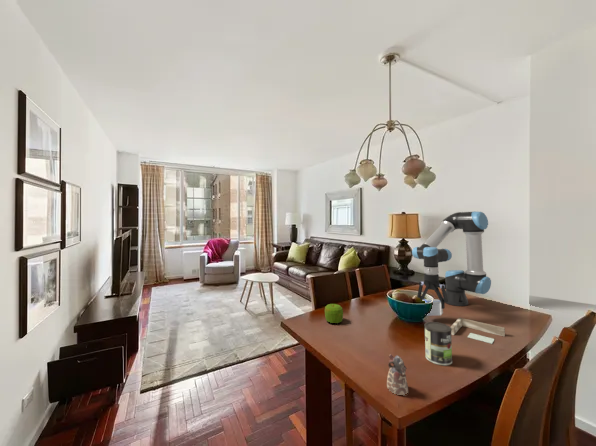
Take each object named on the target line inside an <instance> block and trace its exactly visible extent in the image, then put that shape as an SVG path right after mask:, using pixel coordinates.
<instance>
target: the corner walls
mask: <svg viewBox="0 0 596 446" xmlns="http://www.w3.org/2000/svg"><path fill="white" fill-rule="evenodd" d="M450 327H451V329H452V331H451V336H455V335H456V334H457V332H458V331H459V330H460V329H461V328H462V327H464V328H469V329H473V330H476V331H480V332H484V333H488V334H492V335H496V336H501V337H505V336H506V333H505V332H506V328H505V327H502V326H499V325H493V324H491V323H485V322H482V321H476V320H473V319H467V318H463V317H458V318H457V319H456V321H454V322H453V323H452V324H451V326H450Z"/></svg>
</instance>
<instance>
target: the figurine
mask: <svg viewBox="0 0 596 446" xmlns="http://www.w3.org/2000/svg"><path fill="white" fill-rule="evenodd" d="M388 357H389V360H388V363H387V366H388V369H389V370H388V373H387V378H386V388H387V389H389V390H388V391H389V392H390V391H391V392H392V393H394V394H397V395H403V396H406V395H405V394H407V393H408V394H409V385H408V382H407V381H408V380H407V375H406V371H407V366H406V365H405V363H404V360H403V359H402V357H401V356H399V355H395V356H393V355H392V354H391V353H390V354H388ZM392 364H393V365H392ZM391 392H390V393H391ZM392 393H391V394H392ZM394 394H393V395H394ZM408 394H407V395H408ZM397 395H396V396H397Z"/></svg>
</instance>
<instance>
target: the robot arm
mask: <svg viewBox="0 0 596 446" xmlns="http://www.w3.org/2000/svg"><path fill="white" fill-rule="evenodd" d="M488 220H489V219H488V217H487V215H486V214H485V213H484V212H483V211H464V212H463V211H462V212H459V211H458V212H454V213H452V214H450V215H448V216H447V217H445V218H444V219H443V220H442V221H441V222H440V224H439V226H438V227H437V228H436V229H435V230H434V231H433V232H432V234H431V235H430V236H429V237H428V238H426V240H425V241H424V242H423V243H422V244H421V245H420V246H414V247H413V248H412V250H411V254H412V256H413V258H414V259H418V260H423V273H424V274H423V277H424V278H423V281H419V282H418V290H417V295H416V297H417V298H419V299H420V301H421V300H422V301H424V299H425V297H426V296H427V294H428V292H429V290H430V291H431V290H432V291H434V292H435V293H436V295H437V299H439V300H440V301H441V302H440V315H439V316H442V315H443V314H444V309H445V307H446V305H445V304H447V305H450V306H457V307H465V306H466V307H467V306H469V299H468V297H467V295H466V291H467V292H470V293H476V294H479V295H480V294H481V295H485V294H487V293H488V292H489V290H490V289H491V287H492V279H491V278H490V277H489V276H487V272H485V271H484V259H483V241H482V239H483V238H482V234H484V233H485V230H486V229H487V228H488V226H489V221H488ZM455 230H462V233H463V234H464V235H465V248H466V249H465V251H466V267H467V268H466V270H461V269H455V270H454V269H451V270H447V271H445V275H444V276H445V277H444V278H445V279H444V281H445V284H441V283H440V279H439V277H440V275H439V263H443V262H448V261H450V260H451V259H452V255H453V253H452V251H451V250H450V249H448V248H438V247H439V245H440V244H441V243H442V242H443V241H444V240H445V239H446V238H447V236H449V235H450V233H453V232H454V231H455ZM423 286H424V287H425V288H424V287H423ZM423 288H424V290H423ZM439 288H440V289H441V292H440V289H439Z"/></svg>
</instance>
